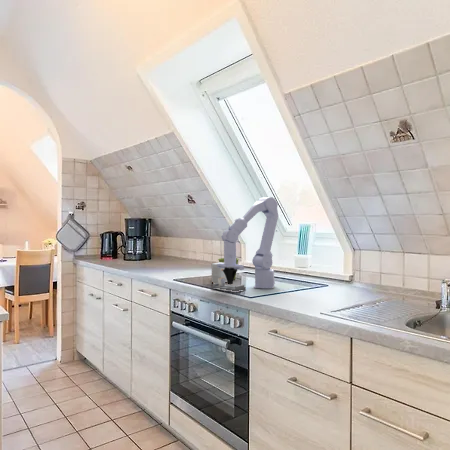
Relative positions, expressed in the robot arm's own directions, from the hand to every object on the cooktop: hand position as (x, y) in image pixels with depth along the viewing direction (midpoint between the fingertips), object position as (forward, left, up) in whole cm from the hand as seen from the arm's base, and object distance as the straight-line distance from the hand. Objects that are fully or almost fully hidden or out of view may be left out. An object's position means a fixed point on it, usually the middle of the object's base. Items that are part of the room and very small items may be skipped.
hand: (230, 284), depth 197 cm
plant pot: (+7, -32, -3) cm, 33 cm away
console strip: (+1, 0, -3) cm, 3 cm away
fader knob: (+5, -2, -1) cm, 5 cm away
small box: (+9, -18, -3) cm, 21 cm away
